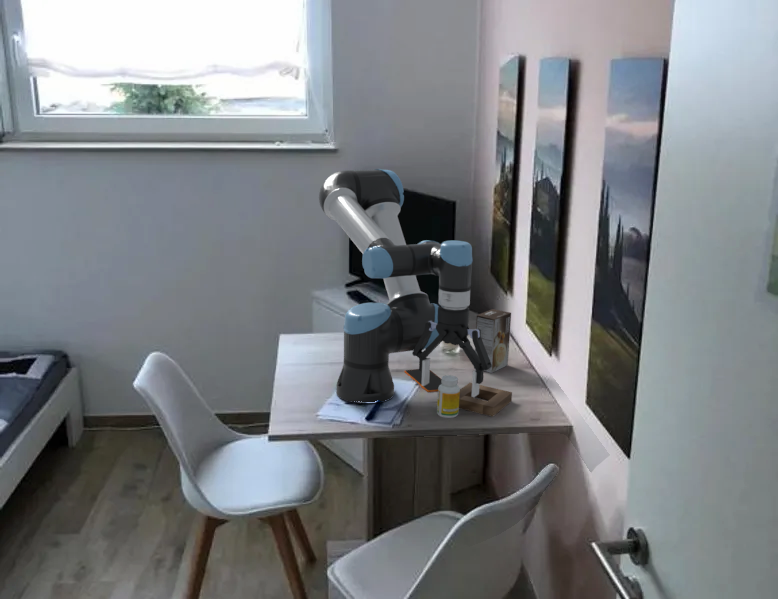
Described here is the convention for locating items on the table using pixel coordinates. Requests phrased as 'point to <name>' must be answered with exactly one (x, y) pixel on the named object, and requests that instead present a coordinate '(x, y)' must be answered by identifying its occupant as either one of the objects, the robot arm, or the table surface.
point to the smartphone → (433, 379)
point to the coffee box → (495, 336)
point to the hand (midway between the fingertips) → (449, 389)
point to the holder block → (491, 407)
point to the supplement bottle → (448, 397)
